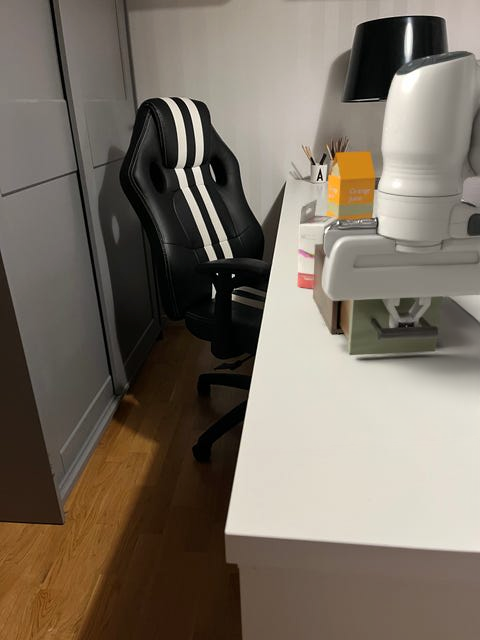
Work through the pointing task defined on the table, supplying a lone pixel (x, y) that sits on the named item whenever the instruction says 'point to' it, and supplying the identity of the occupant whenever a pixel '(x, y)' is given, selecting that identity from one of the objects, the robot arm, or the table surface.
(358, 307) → the drawer
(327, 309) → the cabinet
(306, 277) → the ink cartridge box
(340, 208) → the orange juice
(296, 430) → the table surface
